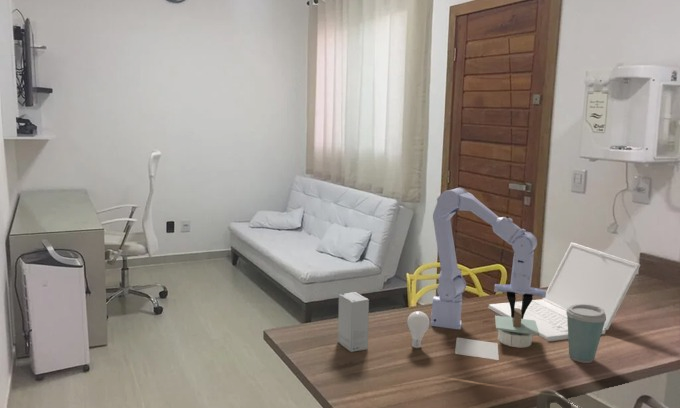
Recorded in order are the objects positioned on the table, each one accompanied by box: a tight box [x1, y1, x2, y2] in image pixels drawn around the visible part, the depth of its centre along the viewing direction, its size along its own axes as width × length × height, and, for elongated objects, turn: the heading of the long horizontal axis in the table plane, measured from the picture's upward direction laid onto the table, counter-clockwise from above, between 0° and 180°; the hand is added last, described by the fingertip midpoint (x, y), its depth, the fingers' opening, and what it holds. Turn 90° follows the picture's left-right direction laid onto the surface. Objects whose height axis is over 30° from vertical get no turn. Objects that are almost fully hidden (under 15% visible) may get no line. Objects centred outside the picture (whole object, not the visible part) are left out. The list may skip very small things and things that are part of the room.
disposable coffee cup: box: [566, 304, 606, 364], centre depth 162 cm, size 11×11×15 cm
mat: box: [454, 337, 500, 361], centre depth 165 cm, size 12×12×1 cm
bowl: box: [497, 330, 533, 348], centre depth 172 cm, size 10×10×4 cm
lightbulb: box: [406, 310, 431, 349], centre depth 163 cm, size 6×6×11 cm
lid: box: [494, 308, 539, 336], centre depth 171 cm, size 12×12×5 cm
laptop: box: [488, 241, 641, 342], centre depth 192 cm, size 30×35×23 cm
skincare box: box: [337, 291, 370, 353], centre depth 162 cm, size 8×6×15 cm
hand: (516, 317), depth 171 cm, fingers closed on lid
